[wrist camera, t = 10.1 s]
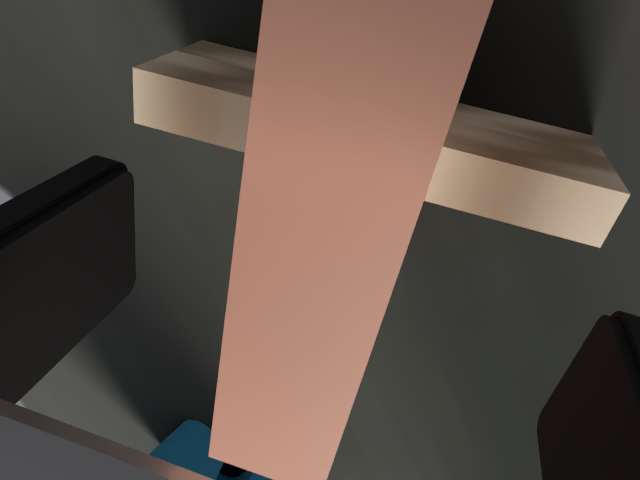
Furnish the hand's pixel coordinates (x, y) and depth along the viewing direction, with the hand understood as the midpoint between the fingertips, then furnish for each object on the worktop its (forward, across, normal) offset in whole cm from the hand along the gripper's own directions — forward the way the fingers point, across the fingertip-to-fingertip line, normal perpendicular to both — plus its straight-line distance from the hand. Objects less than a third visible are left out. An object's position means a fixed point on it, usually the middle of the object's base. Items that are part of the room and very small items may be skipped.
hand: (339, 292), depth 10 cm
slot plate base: (+11, +1, 0) cm, 11 cm away
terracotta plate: (+11, +1, 0) cm, 11 cm away
